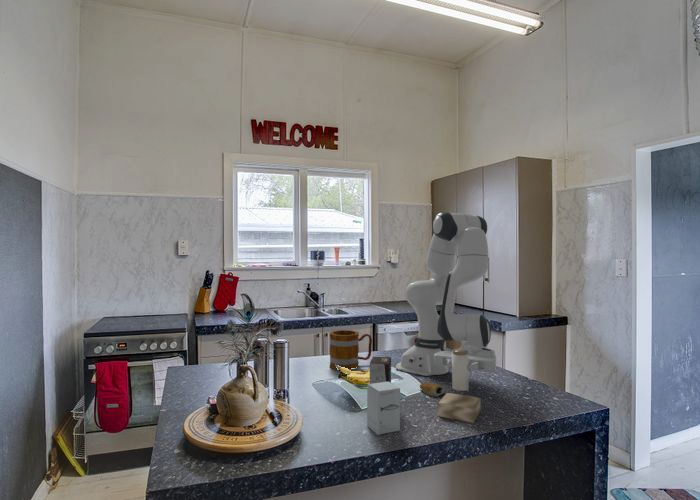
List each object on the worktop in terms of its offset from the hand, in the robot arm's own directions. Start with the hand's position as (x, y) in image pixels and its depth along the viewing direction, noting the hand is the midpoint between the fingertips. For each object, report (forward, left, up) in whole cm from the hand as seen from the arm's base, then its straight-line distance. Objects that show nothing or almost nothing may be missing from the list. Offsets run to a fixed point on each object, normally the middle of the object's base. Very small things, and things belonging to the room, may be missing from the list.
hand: (459, 366), depth 136 cm
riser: (0, +1, -15) cm, 15 cm away
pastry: (-14, +16, -16) cm, 26 cm away
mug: (-56, +33, -15) cm, 67 cm away
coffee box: (-24, -7, -15) cm, 30 cm away
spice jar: (0, +1, -7) cm, 7 cm away
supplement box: (-17, -21, -15) cm, 31 cm away
